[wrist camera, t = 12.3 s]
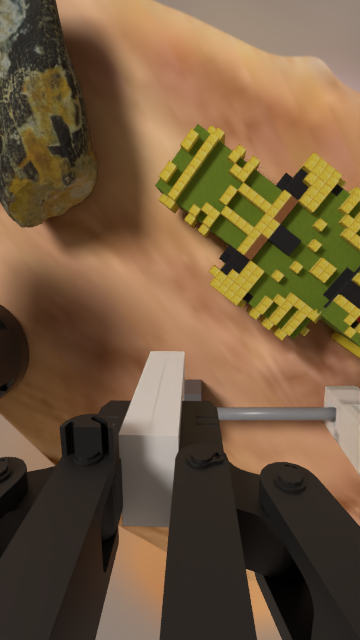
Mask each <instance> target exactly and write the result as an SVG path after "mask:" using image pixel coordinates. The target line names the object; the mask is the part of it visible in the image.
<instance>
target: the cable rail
mask: <svg viewBox="0 0 360 640" xmlns="http://www.w3.org/2000/svg"><path fill="white" fill-rule="evenodd" d="M184 401H202V397H201V380H184ZM216 408H217V410H218V418H219V420H336V410H337V409H336V408H335V407H216Z"/></svg>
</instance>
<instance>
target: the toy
mask: <svg viewBox="0 0 360 640" xmlns="http://www.w3.org/2000/svg"><path fill="white" fill-rule="evenodd" d="M224 141H225V132H223V131H222V130H221V129H219V128H218V127H217V129H215V128H214V127H213V126H211V125H210V127H209V128H208V130H207V131H206V130H205V129H204V128H202V127H201V126H200V125H199V124H197V126H196V127H195V129H194V130H193V129H192V128H191V130H190V131H189V133H188V134H187V136H186V137H185V139H184V140H183V141H182V143H181V144H180V145H181V149H180V150H179V152H178V153H177V155H176V156H175V158H174V159H173V160H172V162H171V161H169V162H168V163H167V165H166V166H165V168H164V169H163V171H162V172H161V173H160V175H159V177H160V179H159V181H158V182H157V184H156V185H155V186H156V187H157V188H158V189H159V191H160V192H161V193H162V195H161V197H160V198H159V201H160V202H161V203H162V204H164V205H165V206H166V207H167V208H168V209H170V210H171V211H172V212H173V213H176V211H177V210H178V209H179V207H180V208H181V209H183V210H184V211H185V212H187V213H188V215H187V216H186V218H185V219H184V220H185V221H186V223H187V224H189V225H190V226H191V227H193V228H194V227H195V225H196V224H197V223H198V222H199V223H200V224H202V225H201V226H200V228H199V229H198V232H199V233H200V234H201V235H203V236H204V237H205V238H206V237H207V235H208V234H209V233H210V232H212V233H213V234H214V235H216V236H217V237H218V238H219V239H221V240H222V241H223V242H225V243H226V244H227V245H228V248H227V249H226V250H225V251H224V253H223V254H222V255H221V257H220V258H219V259H220V260H222V261H223V262H224V263H225V264H224V265H223V267H222V268H221V269H219V268H217V267H216V266H215V265H214V266H213V267H212V268H211V269H210V271H209V272H210V273H211V274H212V275H213V276H215V277H214V278H213V279H212V281H211V282H210V285H211V286H212V287H213V288H215V289H216V290H217V291H218V292H220V293H221V294H222V295H224V296H225V297H226V298H227V299H229V300H230V301H231V302H232V303H234V304H235V305H236V306H237V305H238V306H240V307H241V308H243V307H244V306H245V305H246V303H248V304H250V307H249V308H248V309H247V312H248V314H249V315H250V316H251V317H253V318H254V319H255V320H256V319H257V318H258V317H259V316H260V315H261V314H262V316H261V317H260V318H259V321H260V322H261V324H262V325H263V326H264V327H265V328H267V329H268V330H270V328H271V330H272V332H273V333H274V334H275V336H277V337H278V338H279V339H281V340H283V339H284V338H285V337H286V335H288V336H290V337H292V338H293V339H295V338H296V337H297V336H298V335H299V333H301V334H302V335H303V336H305V335H306V334H307V333H308V332H309V331H310V330H309V329H308V328H307V327H306V326H307V324H308V323H309V322H310V321H312V322H314V323H315V324H316V323H317V322H318V321H319V319H320V320H322V321H323V322H324V323H325V324H327V325H328V326H329V327H331V328H332V329H333V330H334V331H335V332H334V333H333V334H332V335H331V336H330V337H331V338H332V339H333V340H335V341H336V342H338V343H339V344H340V345H341V346H343V347H344V348H345V349H347V350H348V351H350V352H351V353H353V354H354V355H355V356H357V357H358V358H360V202H359V201H360V189H359V188H358V187H356V188H354V189H352V190H350V191H348V192H347V191H345V190H344V189H343V187H344V185H345V184H346V182H345V181H343V180H342V179H341V177H342V174H341V173H339V172H338V171H337V170H336V169H334V168H333V167H332V166H331V165H329V164H328V163H327V162H326V161H324V160H323V159H322V158H321V157H319V156H318V155H317V154H316V153H314V152H313V154H312V155H311V156H310V157H309V158H308V159H307V160H306V162H305V163H304V164H303V165H302V167H301V168H300V169H299V170H298V172H297V173H296V174H295V175H294V177H293V178H292V177H291V176H290V175H288V174H287V173H285V175H284V176H283V177H282V178H281V180H280V181H279V182H278V184H277V185H276V186H275V185H274V184H273V183H272V182H270V181H269V180H268V179H267V178H265V177H264V176H263V175H262V174H260V173H259V172H258V171H257V168H258V166H259V164H260V160H258V159H257V158H256V157H255V156H253V157H252V158H251V159H250V161H248V162H247V163H246V162H245V161H244V157H245V153H246V149H245V148H243V147H242V146H241V145H240V144H239V145H238V146H237V148H236V149H235V150H234V149H233V151H231V150H230V149H229V148H228V147H226V146H225V145H224Z"/></svg>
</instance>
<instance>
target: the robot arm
mask: <svg viewBox="0 0 360 640" xmlns="http://www.w3.org/2000/svg"><path fill="white" fill-rule="evenodd" d="M28 360H29V349H28V343H27V340H26V337H25V334H24V332H23V330H22V328H21V326H20V325H19V323H18V322H17V320H16V319H15V318H14V317H13V316H12V314H11V313H10V312H8V311H7V310H6V309H5V308H4V307H2V306H1V305H0V398H1V397H3V396H4V395H5V394H7V393H8V392H9V391H11V390H12V389H13V388H14V387H16V386H17V385H18V383H19V382H20V381H21V380H22V378H23V376H24V374H25V372H26V369H27V366H28ZM184 376H185V352H175V351H151V352H150V354H149V357H148V360H147V362H146V365H145V367H144V370H143V372H142V375H141V378H140V380H139V383H138V385H137V388H136V391H135V393H134V396H133V398H132V401H110V402H109V403H107V404H106V405H104V406H103V407H102V408H101V410H100V411H99V413H98V414H85V415H80V416H77V417H73V418H71V419H69V420H67V421H65V422H64V423H63V424H62V425H61V426H60V435H61V446H62V458H61V459H60V461H59V463H58V464H57V466H54V467H50V468H46V469H41V470H36V471H30V472H27V467H26V464H25V463H24V461H23V460H21V459H19V458H16V457H3V458H0V640H95V638H96V634H97V630H98V625H99V622H100V617H101V613H102V609H103V605H104V601H105V597H106V593H107V589H108V584H109V580H110V576H111V572H112V568H113V564H114V560H115V555H116V551H117V548H118V543H119V542H118V541H119V534H118V524H119V520H120V516H121V513H122V524H123V526H147V527H169V536H168V548H167V560H166V571H165V583H164V595H163V606H162V618H161V630H160V640H257V637H256V631H255V624H254V618H253V612H252V606H251V599H250V593H249V587H248V580H247V574H246V569H248V570H251V571H254V572H255V576H256V580H257V582H258V585H259V587H260V589H261V592H262V594H263V596H264V599H265V601H266V603H267V606H268V608H269V610H270V612H271V615H272V617H273V619H274V622H275V624H276V626H277V628H278V631H279V633H280V636H281V638H282V640H360V526H359V525H358V524H357V523H356V522H355V520H354V519H353V518H352V517H351V516H350V515H349V514H348V512H347V511H346V510H345V509H344V508H343V507H342V506H341V504H340V503H339V502H338V501H337V500H336V499H335V498H334V497H333V495H332V494H331V493H330V492H329V491H328V490H327V489H326V487H325V486H324V485H323V484H322V483H321V482H320V481H319V479H318V478H317V477H316V476H315V475H314V474H312V473H311V472H310V471H309V470H307V469H305V468H303V467H301V466H299V465H296V464H292V463H288V462H275V463H272V464H269V465H267V466H265V467H264V468H263V469H262V470H261V474H260V475H258V474H254V473H250V472H247V471H244V470H241V469H239V468H237V467H235V466H234V465H232V464H231V463H230V462H229V461H228V458H227V456H226V454H225V453H224V451H223V444H222V437H221V431H220V425H219V418H218V410H217V408H216V407H215V406H214V405H213V404H212V402H211V401H184Z"/></svg>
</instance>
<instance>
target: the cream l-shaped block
mask: <svg viewBox="0 0 360 640" xmlns="http://www.w3.org/2000/svg"><path fill="white" fill-rule="evenodd" d="M324 407H335V408H336V409H337V410H336V420H323V423H324V424H325V426H326V427H327V428H328V430H329V431H330V433H331V434H332V436H333V437H334V439H335V440H336V441H337V443H338V444H339V446H340V447H341V449H342V450H343V452H344V453H345V454H346V456H347V457H348V459H349V460H350V462H351V463H352V465H353V466H354V467H355V469H356V470H357V472H358V473H359V475H360V388H359V387H357V386H325V399H324Z"/></svg>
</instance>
